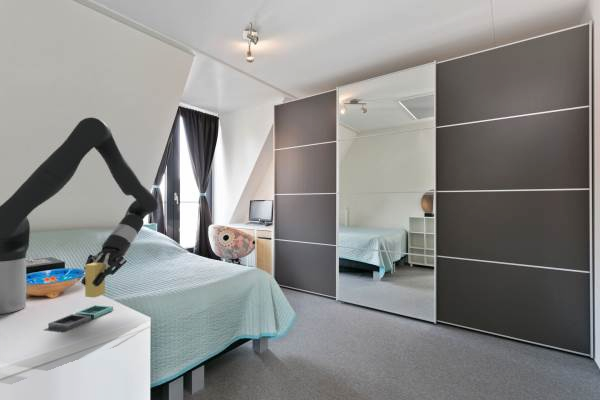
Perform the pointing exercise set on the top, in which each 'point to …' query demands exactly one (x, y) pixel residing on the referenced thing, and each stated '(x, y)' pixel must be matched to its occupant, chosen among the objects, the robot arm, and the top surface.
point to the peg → (90, 275)
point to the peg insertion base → (78, 318)
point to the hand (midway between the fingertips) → (89, 284)
